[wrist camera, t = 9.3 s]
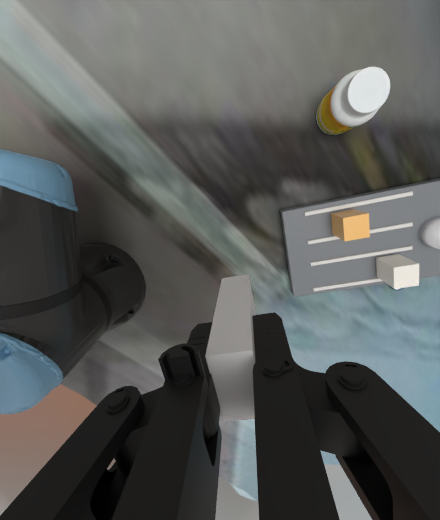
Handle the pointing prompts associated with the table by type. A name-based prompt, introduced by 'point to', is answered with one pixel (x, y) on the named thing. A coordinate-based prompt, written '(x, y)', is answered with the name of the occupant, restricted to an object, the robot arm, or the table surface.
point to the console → (366, 249)
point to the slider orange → (350, 225)
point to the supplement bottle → (353, 100)
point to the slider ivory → (397, 271)
